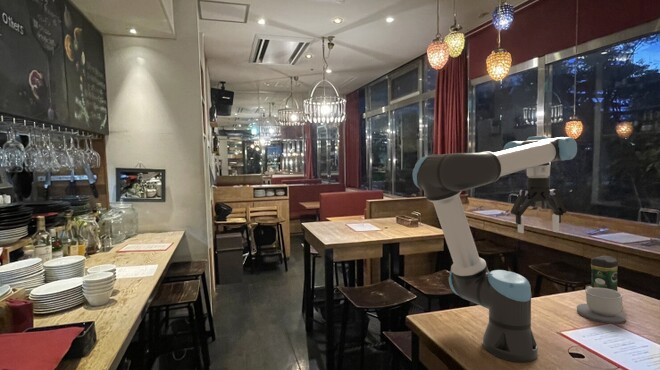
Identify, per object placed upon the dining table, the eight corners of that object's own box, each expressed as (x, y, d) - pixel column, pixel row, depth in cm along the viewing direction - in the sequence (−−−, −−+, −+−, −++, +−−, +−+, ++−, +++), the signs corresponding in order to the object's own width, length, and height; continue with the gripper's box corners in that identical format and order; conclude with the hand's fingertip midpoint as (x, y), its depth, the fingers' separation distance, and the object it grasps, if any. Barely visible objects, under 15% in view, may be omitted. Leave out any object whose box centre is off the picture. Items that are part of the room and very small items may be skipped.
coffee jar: (598, 295, 149) (599, 253, 149) (620, 300, 142) (621, 256, 142) (587, 299, 145) (587, 256, 144) (609, 305, 138) (609, 260, 137)
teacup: (629, 320, 121) (629, 297, 121) (594, 318, 124) (595, 296, 123) (606, 304, 135) (606, 284, 135) (575, 303, 137) (575, 283, 137)
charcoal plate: (596, 324, 122) (596, 320, 122) (567, 307, 137) (567, 304, 136) (636, 322, 122) (637, 318, 122) (603, 306, 137) (603, 303, 137)
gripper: (511, 178, 126) (511, 234, 127) (577, 176, 126) (577, 233, 127) (500, 177, 134) (501, 231, 134) (563, 176, 134) (563, 229, 135)
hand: (538, 232), depth 131 cm, fingers open, 13 cm apart
